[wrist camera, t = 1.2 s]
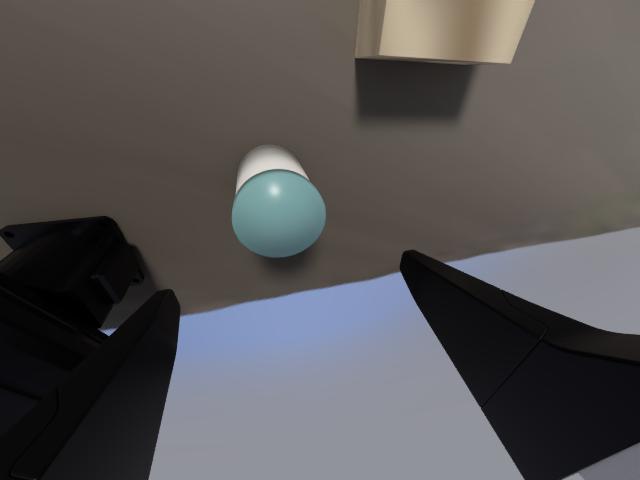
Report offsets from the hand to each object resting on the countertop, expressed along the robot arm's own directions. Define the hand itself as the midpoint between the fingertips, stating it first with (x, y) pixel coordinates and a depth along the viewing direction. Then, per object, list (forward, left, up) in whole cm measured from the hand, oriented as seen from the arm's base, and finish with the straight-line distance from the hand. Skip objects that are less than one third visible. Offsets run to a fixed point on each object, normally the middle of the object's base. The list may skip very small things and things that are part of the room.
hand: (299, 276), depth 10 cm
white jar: (0, 0, -12) cm, 12 cm away
